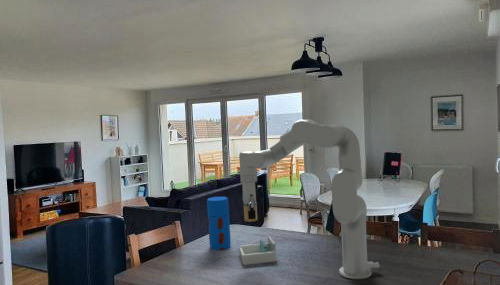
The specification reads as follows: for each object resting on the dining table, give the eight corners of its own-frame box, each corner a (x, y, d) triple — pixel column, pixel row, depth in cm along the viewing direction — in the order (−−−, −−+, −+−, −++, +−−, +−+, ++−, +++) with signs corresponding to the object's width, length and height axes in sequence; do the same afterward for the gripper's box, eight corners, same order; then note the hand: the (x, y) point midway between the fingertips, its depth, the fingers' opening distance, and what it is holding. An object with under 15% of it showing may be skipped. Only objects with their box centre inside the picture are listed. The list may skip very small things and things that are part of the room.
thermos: (211, 251, 192) (208, 201, 190) (208, 245, 202) (205, 198, 201) (233, 248, 194) (230, 199, 193) (228, 242, 205) (225, 195, 204)
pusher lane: (270, 251, 187) (269, 235, 186) (276, 261, 173) (275, 244, 173) (239, 254, 185) (238, 238, 184) (243, 265, 171) (242, 247, 170)
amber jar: (256, 217, 181) (255, 200, 181) (258, 220, 175) (257, 203, 175) (243, 218, 180) (242, 201, 180) (245, 222, 174) (244, 204, 174)
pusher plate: (263, 250, 185) (262, 239, 184) (267, 258, 174) (267, 246, 174) (260, 251, 185) (259, 239, 184) (264, 258, 174) (264, 246, 173)
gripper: (238, 176, 185) (240, 213, 186) (243, 181, 168) (245, 222, 169) (253, 175, 186) (255, 212, 187) (260, 180, 169) (262, 220, 170)
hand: (250, 216), depth 178 cm, fingers closed on amber jar, 6 cm apart
